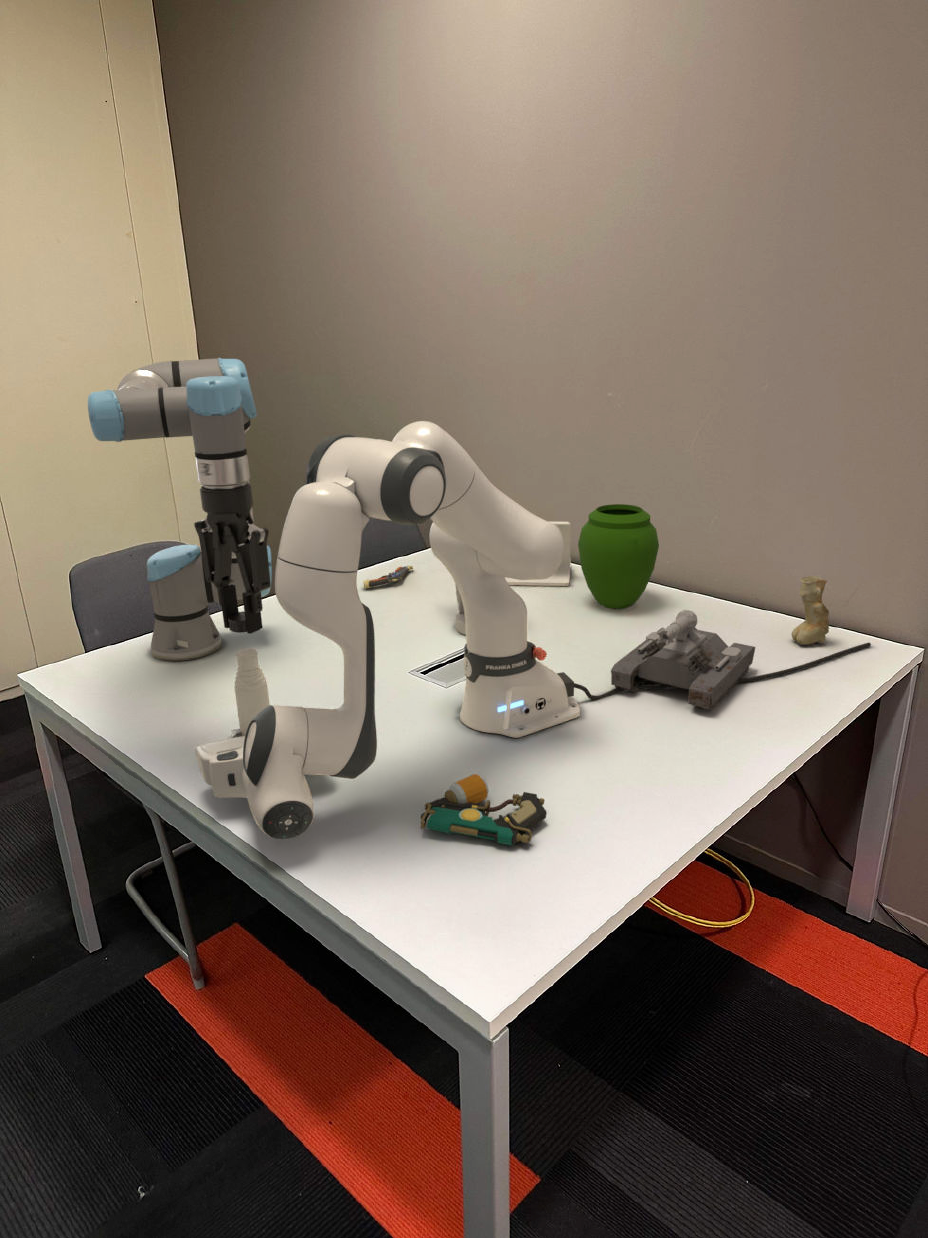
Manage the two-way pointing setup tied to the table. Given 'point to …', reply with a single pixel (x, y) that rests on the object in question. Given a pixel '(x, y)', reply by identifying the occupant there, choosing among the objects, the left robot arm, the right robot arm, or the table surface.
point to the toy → (685, 662)
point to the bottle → (249, 688)
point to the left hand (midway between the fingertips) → (243, 627)
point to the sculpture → (812, 612)
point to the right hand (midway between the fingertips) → (255, 729)
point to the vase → (618, 554)
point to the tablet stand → (563, 572)
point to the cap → (237, 622)
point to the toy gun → (388, 577)
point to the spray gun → (482, 813)
